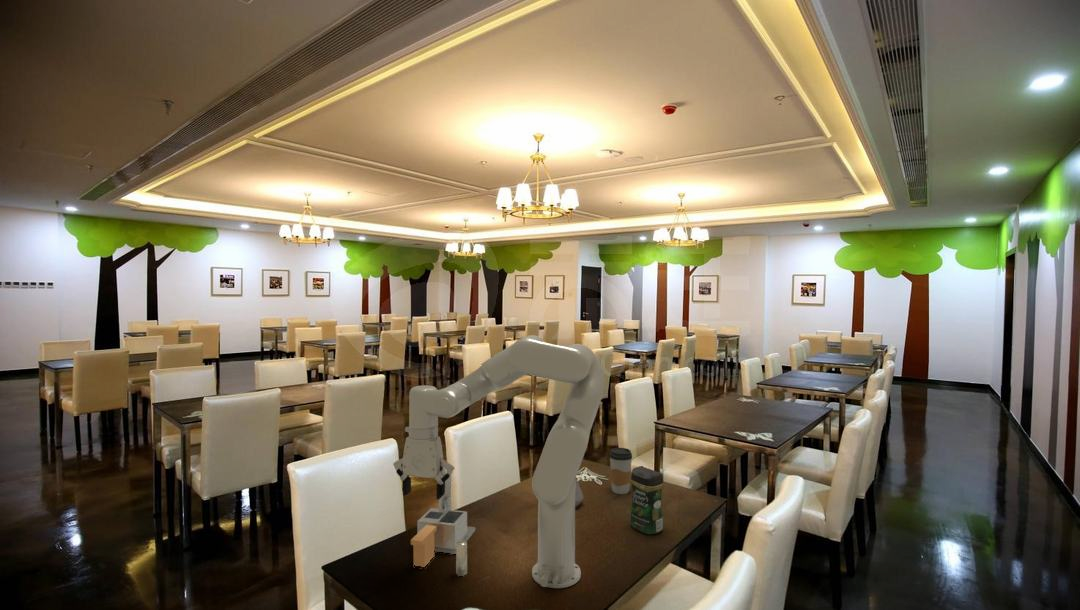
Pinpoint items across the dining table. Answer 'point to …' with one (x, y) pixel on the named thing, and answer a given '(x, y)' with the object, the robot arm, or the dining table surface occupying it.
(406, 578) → the dining table surface
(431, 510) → the pole on box base
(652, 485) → the coffee jar
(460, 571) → the pale grey cylinder
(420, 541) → the tan rectangular block
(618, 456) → the coffee cup
